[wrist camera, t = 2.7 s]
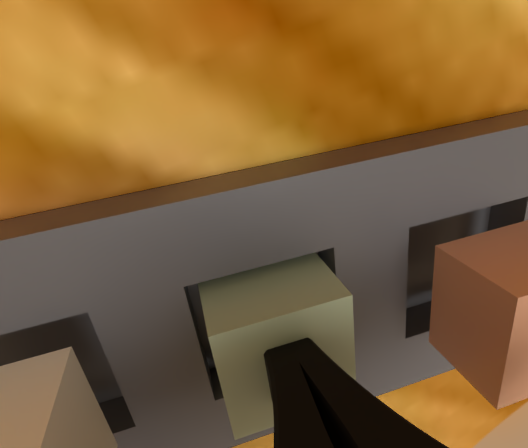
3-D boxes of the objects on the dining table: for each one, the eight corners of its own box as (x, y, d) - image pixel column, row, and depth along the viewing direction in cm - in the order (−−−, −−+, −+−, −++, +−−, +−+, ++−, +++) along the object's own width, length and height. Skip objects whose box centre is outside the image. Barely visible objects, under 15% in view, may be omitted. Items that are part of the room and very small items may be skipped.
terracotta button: (519, 311, 14) (604, 367, 11) (428, 341, 13) (496, 409, 11) (538, 216, 12) (643, 257, 10) (435, 245, 12) (518, 298, 9)
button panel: (507, 316, 18) (539, 338, 16) (-32, 494, 14) (-55, 548, 12) (545, 106, 14) (592, 110, 12) (-216, 266, 9) (-288, 304, 8)
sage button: (319, 336, 14) (356, 397, 12) (219, 367, 14) (234, 440, 11) (311, 247, 13) (352, 295, 10) (196, 277, 12) (208, 336, 9)
